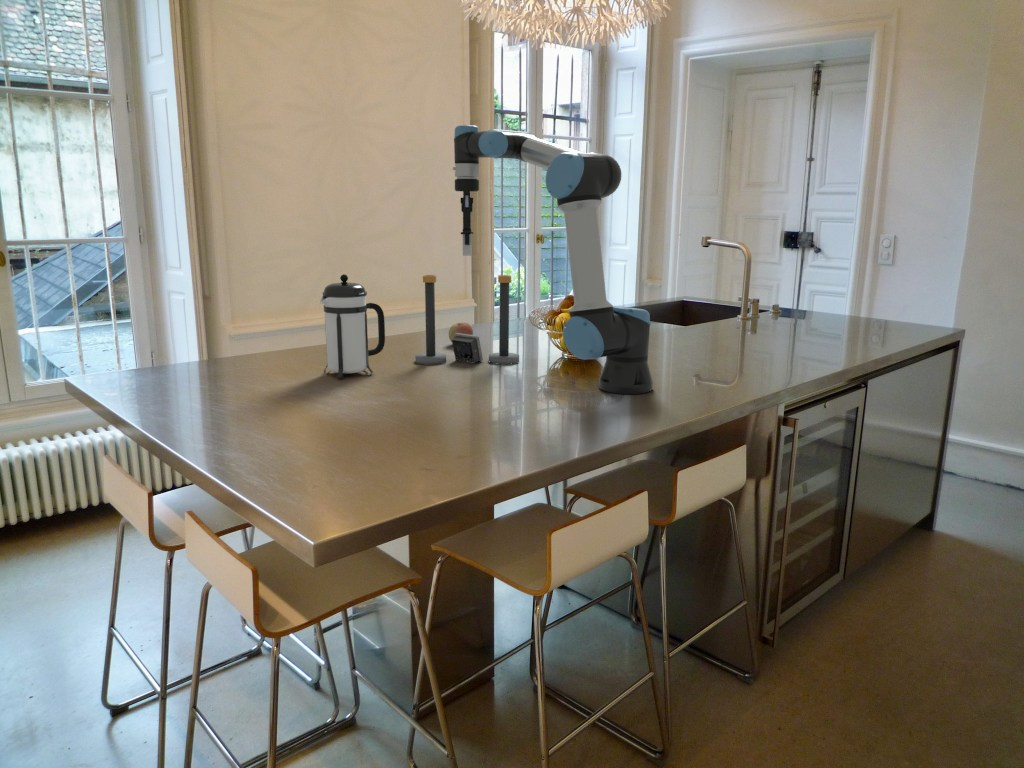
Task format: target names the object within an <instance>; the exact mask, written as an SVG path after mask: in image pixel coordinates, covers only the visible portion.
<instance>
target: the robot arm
mask: <svg viewBox="0 0 1024 768" xmlns="http://www.w3.org/2000/svg"><path fill="white" fill-rule="evenodd" d="M453 143H454V148H453V149H454V150H453V151H454V166H453V167H452V171H454V177H455V179H454V191H455V192H462V193H463V195H462V197H460V204H461V207H460V208H461V213H462V232H461V231H460V235H462V256H463V257H464V256H466V257H467V256H472V235H473V234H474V231H472V213H473V204H474V197H471V192H478V191H480V180H479V179H478V178H480V158H492V159H493V158H495V159H513V160H519V161H521V162H525V163H528V164H530V165H534V166H537V167H539V168H543V169H545V170H546V175H545V186H546V190H547V192H548V193H549V194H550V196H551V197H553V199H556V203H557V208H558V210H560V211H561V212H562V213H563V214H564V223H565V232H566V239H567V240H566V241H567V250H568V257H569V259H568V260H569V268H570V276H571V284H572V295H573V302H574V304H573V306H572V307H571V308H570V310H569V319H568V320H567V321H566V322H565V323H564V326H563V329H562V338H563V341H564V342H563V343H564V344H565V346H566V348H567V350H568V351H569V352H570V353H571V354H572V355H573V356H574V357H575V358H577V359H580V360H584V361H585V360H598V359H599V358H604V357H606V358H605V363H604V365H603V369H602V370H601V374H600V376H599V378H598V387H599V389H600V390H602V391H604V392H606V393H607V392H608V393H613V394H618V395H619V394H620V395H621V394H622V395H639V394H641V393H642V394H647V393H650V392H651V390H653V389H654V387H653V386H654V380H653V377H652V373H651V369H650V366H649V362H648V361H649V359H648V358H649V345H650V330H651V329H650V327H651V317H650V316H651V314H650V312H649V311H648V310H646V309H642V308H636V307H628V306H619V305H613V304H612V303H611V302H610V301H608V300H607V294H606V292H607V291H606V285H605V284H606V283H605V275H604V274H605V273H604V265H603V264H604V263H603V254H602V245H601V237H600V228H599V220H598V219H599V217H598V208H599V206H601V204H602V199H604V198H606V197H609V196H611V195H612V194H614V193H615V192H616V191H617V189H618V188H619V186H620V184H621V181H622V169H621V166H620V164H619V163H618V161H617V160H616V159H615V158H614V157H613V156H610V155H608V154H604V153H603V154H602V153H597V152H581V151H578V150H574V149H571V148H570V147H569V148H568V147H565V146H563V145H559V144H555V143H552V142H549V141H546V140H544V139H540V138H538V137H537V136H535V135H534V134H529V133H519V132H518V133H516V132H514V133H513V132H507V131H506V132H505V131H501V130H499V129H498V130H496V129H489V130H484V131H480V128H479V126H477V125H469V124H468V125H467V124H465V125H464V124H463V125H457V126H456V127H455V128H454V138H453ZM649 391H650V392H649Z"/></svg>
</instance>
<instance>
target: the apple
mask: <svg viewBox="0 0 1024 768" xmlns="http://www.w3.org/2000/svg"><path fill="white" fill-rule="evenodd" d="M456 333H461V334H468V335H474V330H473V327H472V326H471V325H470V324H469V323H468V322H456V323H454V324H452V325H451V326H450V327H449V330H448V338H449V341H450V342H451V343H452V339H454V337H455V334H456Z"/></svg>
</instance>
